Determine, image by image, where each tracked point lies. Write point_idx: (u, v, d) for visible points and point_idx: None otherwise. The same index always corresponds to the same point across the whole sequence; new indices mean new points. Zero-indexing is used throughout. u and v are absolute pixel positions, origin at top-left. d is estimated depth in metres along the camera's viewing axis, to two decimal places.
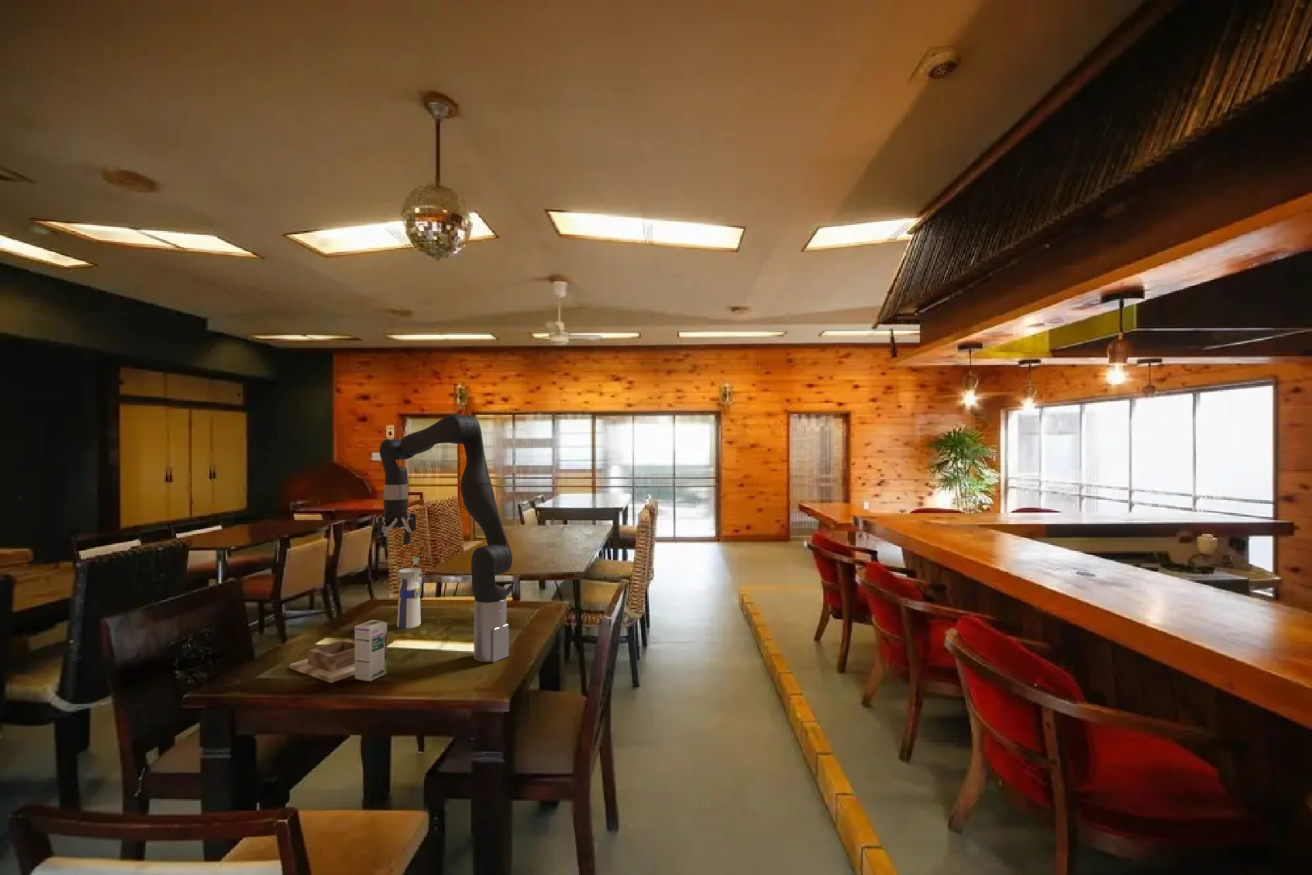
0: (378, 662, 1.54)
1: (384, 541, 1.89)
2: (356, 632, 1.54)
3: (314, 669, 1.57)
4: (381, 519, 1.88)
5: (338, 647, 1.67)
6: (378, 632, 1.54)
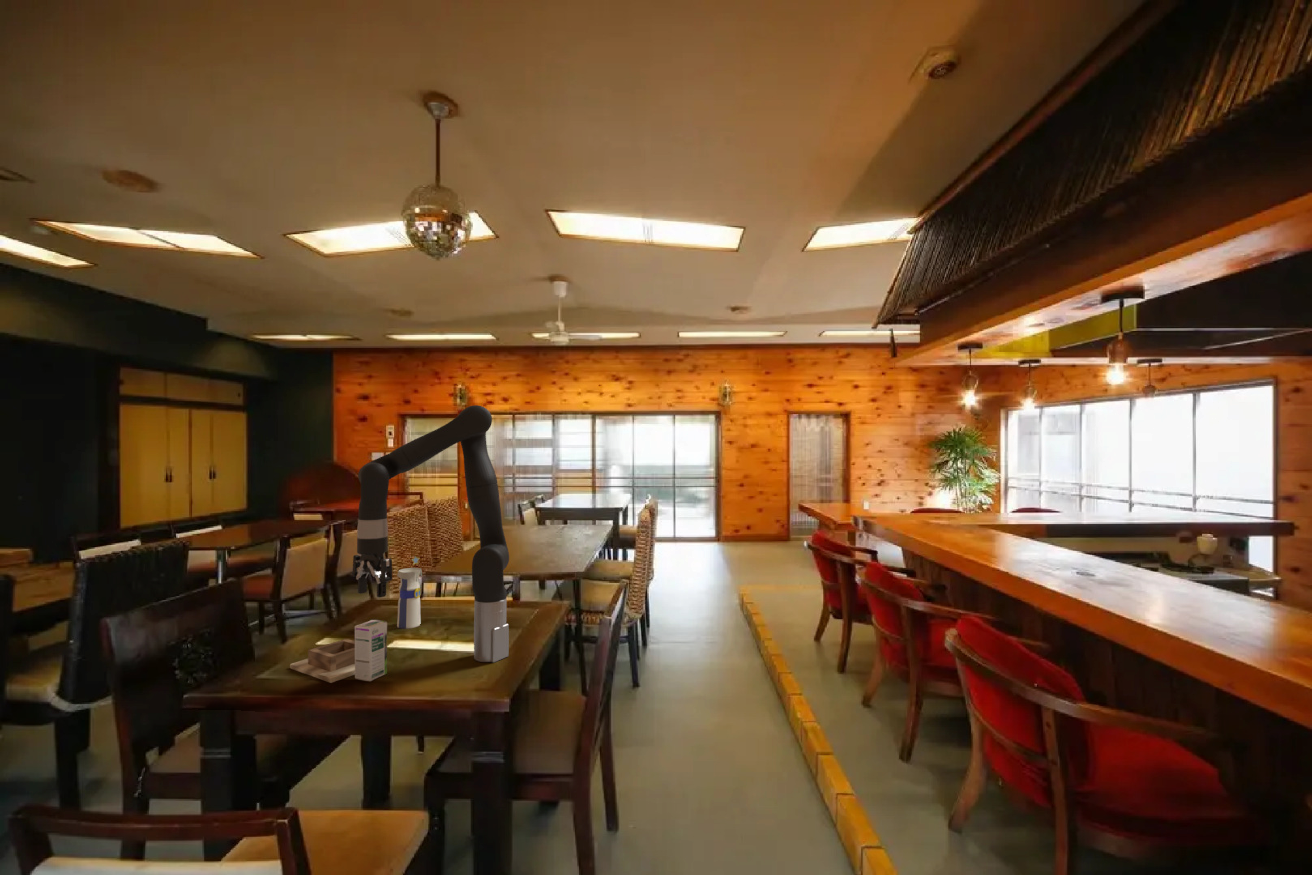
0: (378, 662, 1.54)
1: None
2: (356, 632, 1.54)
3: (314, 669, 1.57)
4: None
5: (338, 647, 1.67)
6: (378, 632, 1.54)
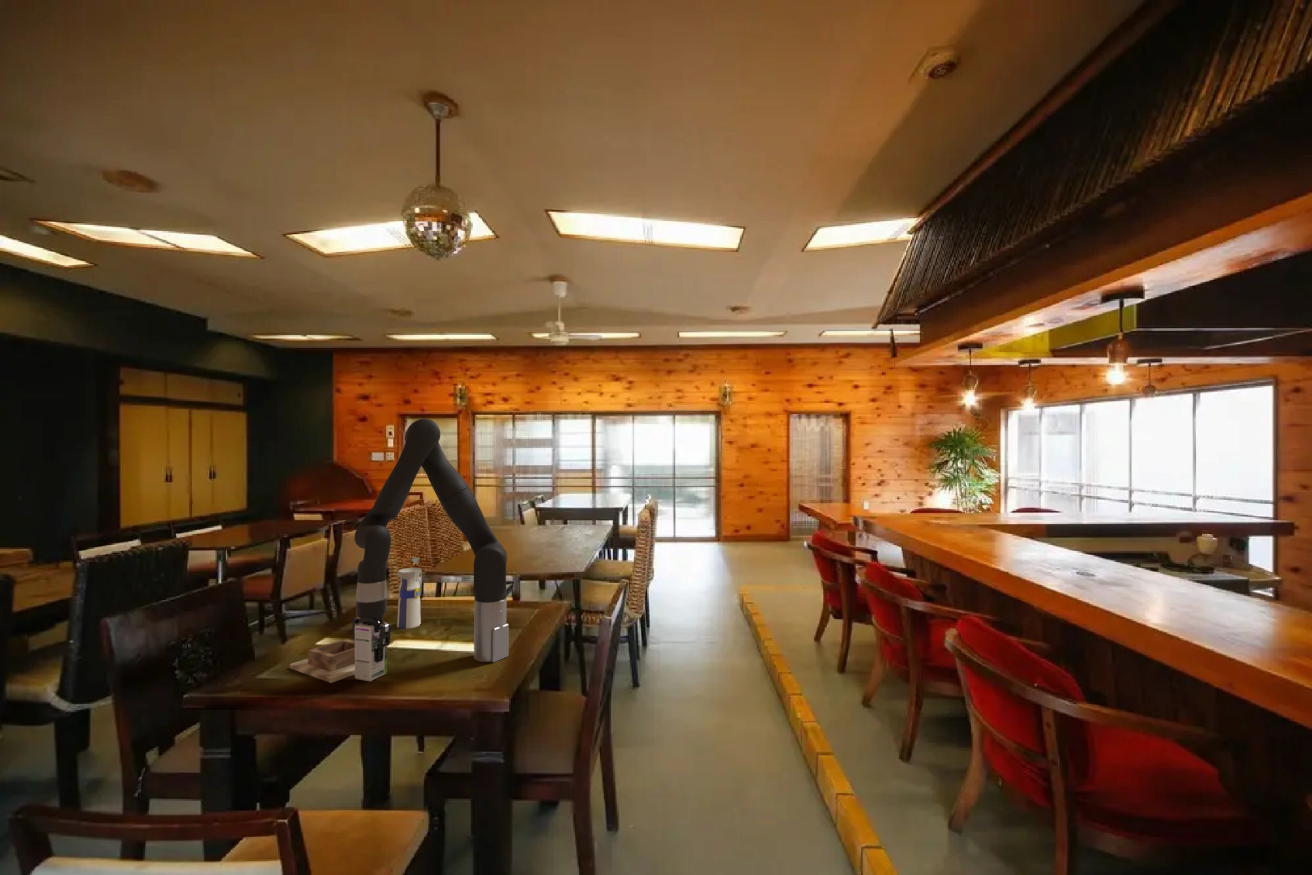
0: (378, 662, 1.54)
1: (382, 652, 1.54)
2: (356, 632, 1.54)
3: (314, 669, 1.57)
4: None
5: (338, 647, 1.67)
6: (378, 632, 1.54)
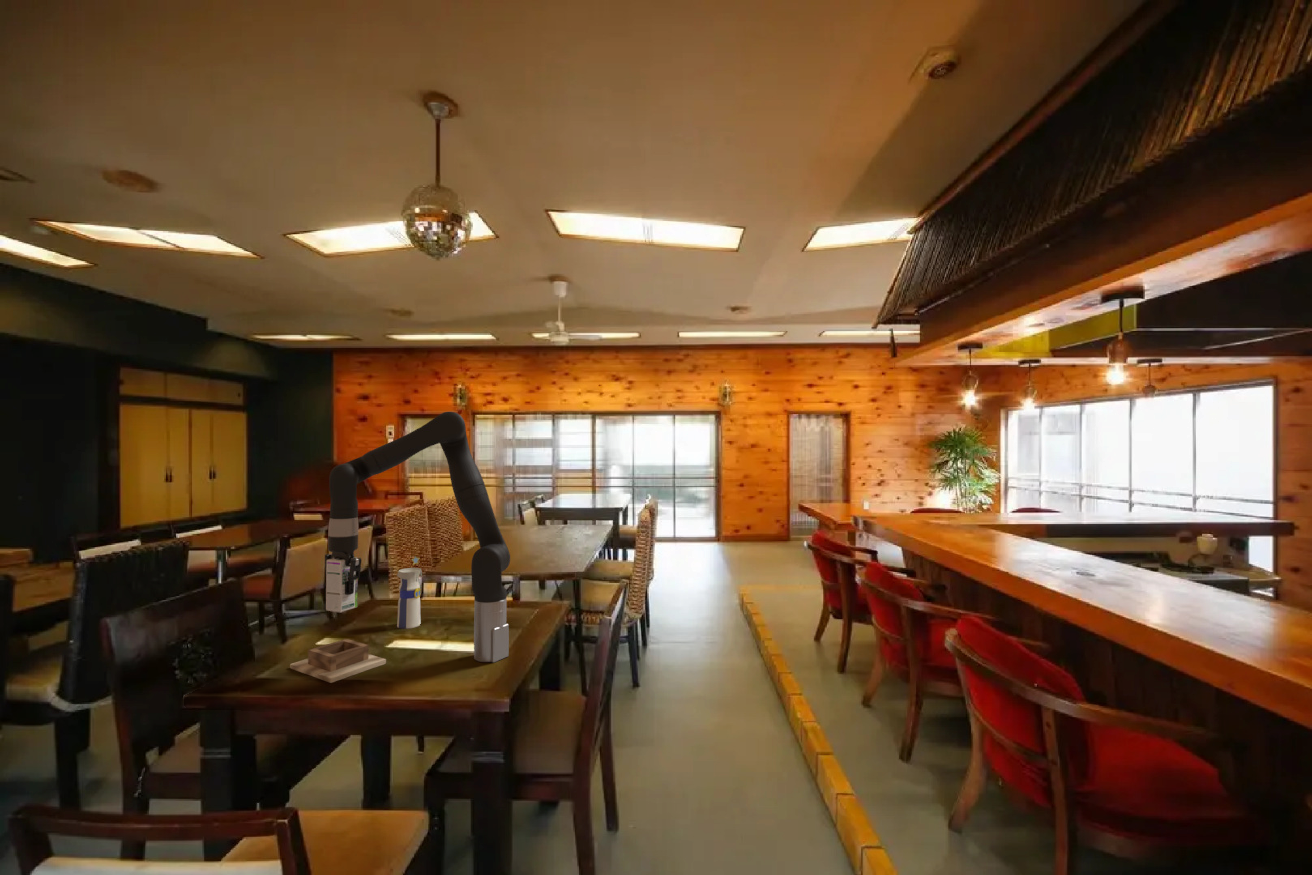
0: (349, 595, 1.61)
1: None
2: (328, 566, 1.60)
3: (314, 669, 1.57)
4: None
5: (338, 647, 1.67)
6: (349, 567, 1.61)
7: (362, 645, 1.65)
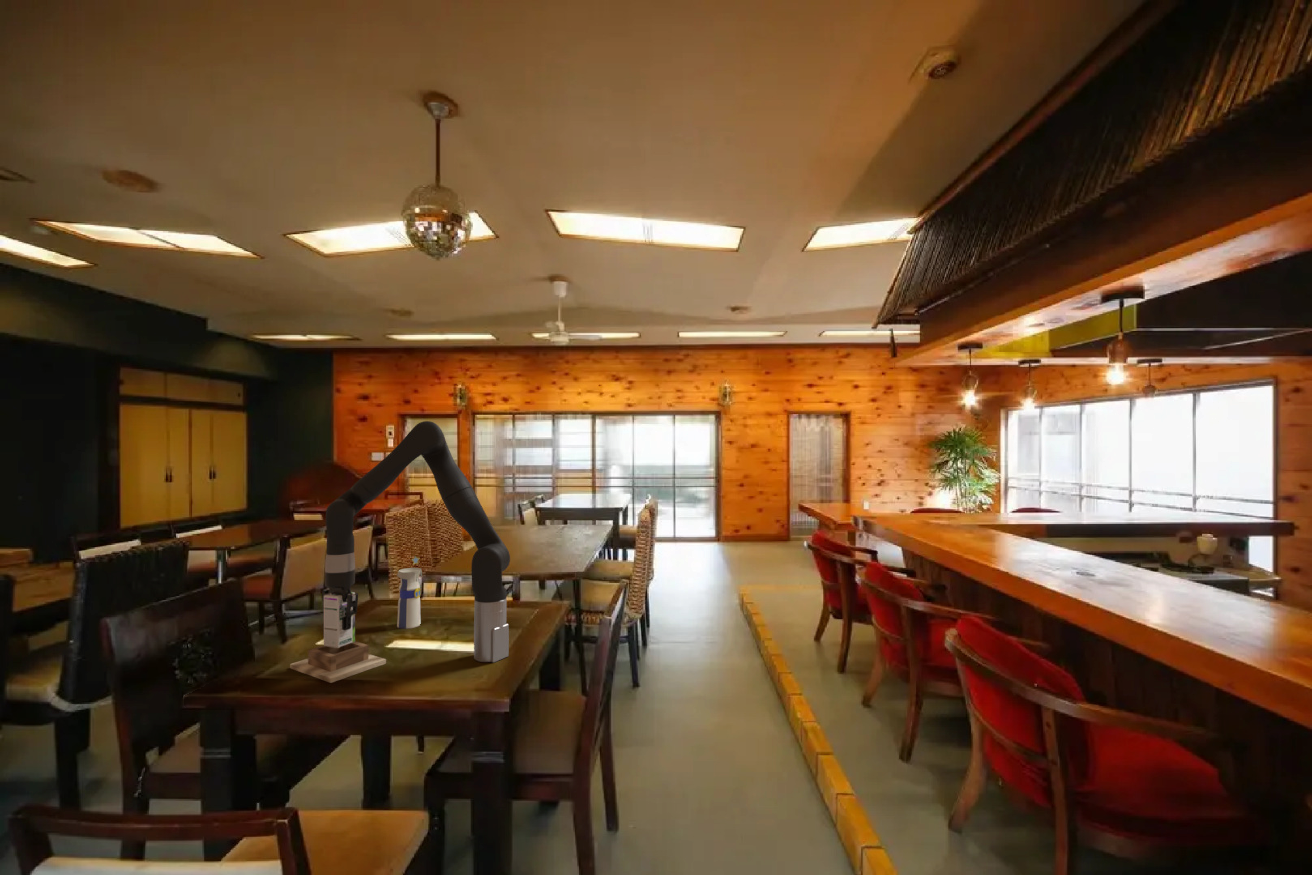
0: (346, 630, 1.62)
1: (350, 621, 1.62)
2: (325, 601, 1.61)
3: (314, 669, 1.57)
4: None
5: None
6: (346, 602, 1.62)
7: (362, 645, 1.65)
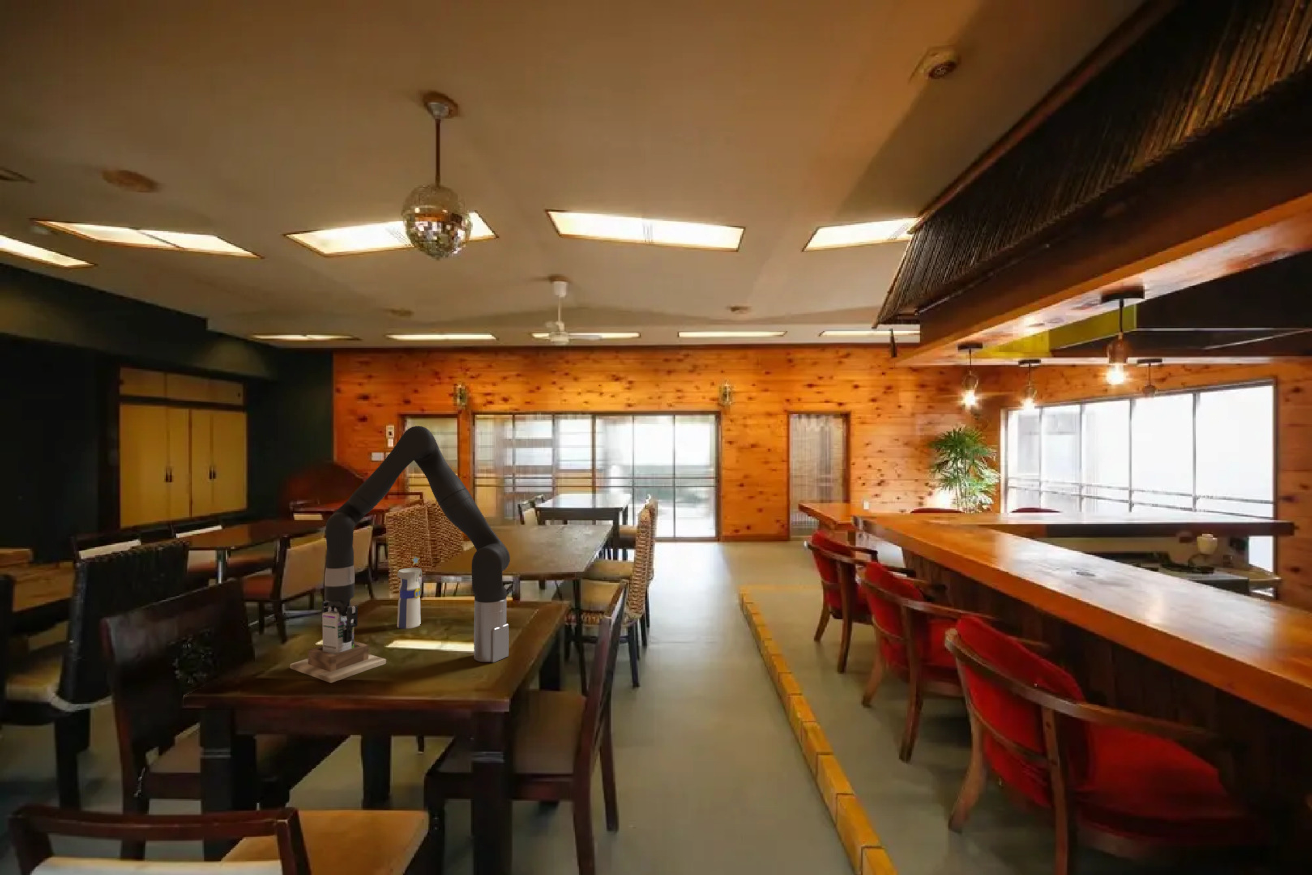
0: (345, 648, 1.62)
1: None
2: (324, 619, 1.61)
3: (314, 669, 1.57)
4: None
5: None
6: None
7: (362, 645, 1.65)
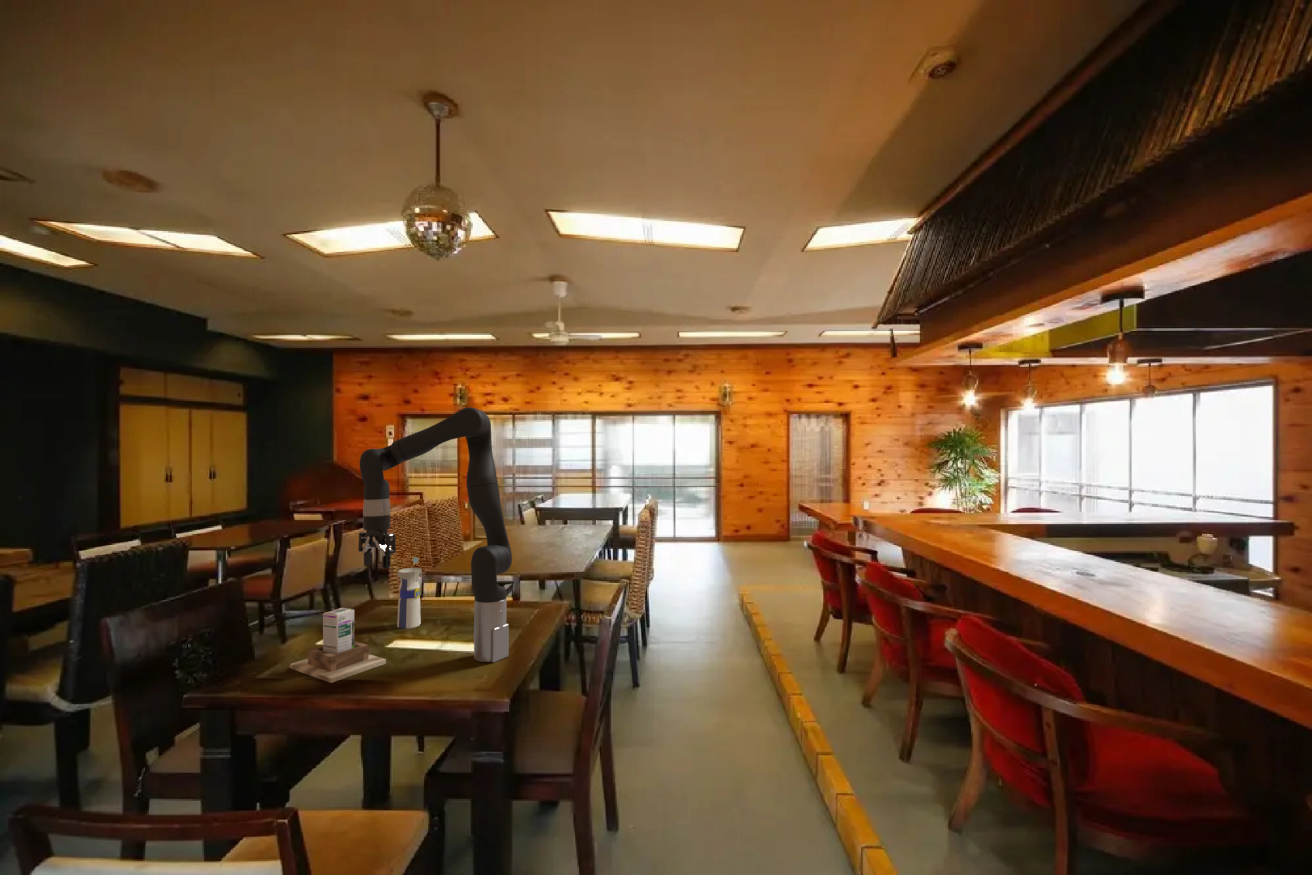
0: (345, 648, 1.62)
1: (389, 560, 1.73)
2: (324, 619, 1.61)
3: (314, 669, 1.57)
4: None
5: None
6: (345, 619, 1.62)
7: (362, 645, 1.65)
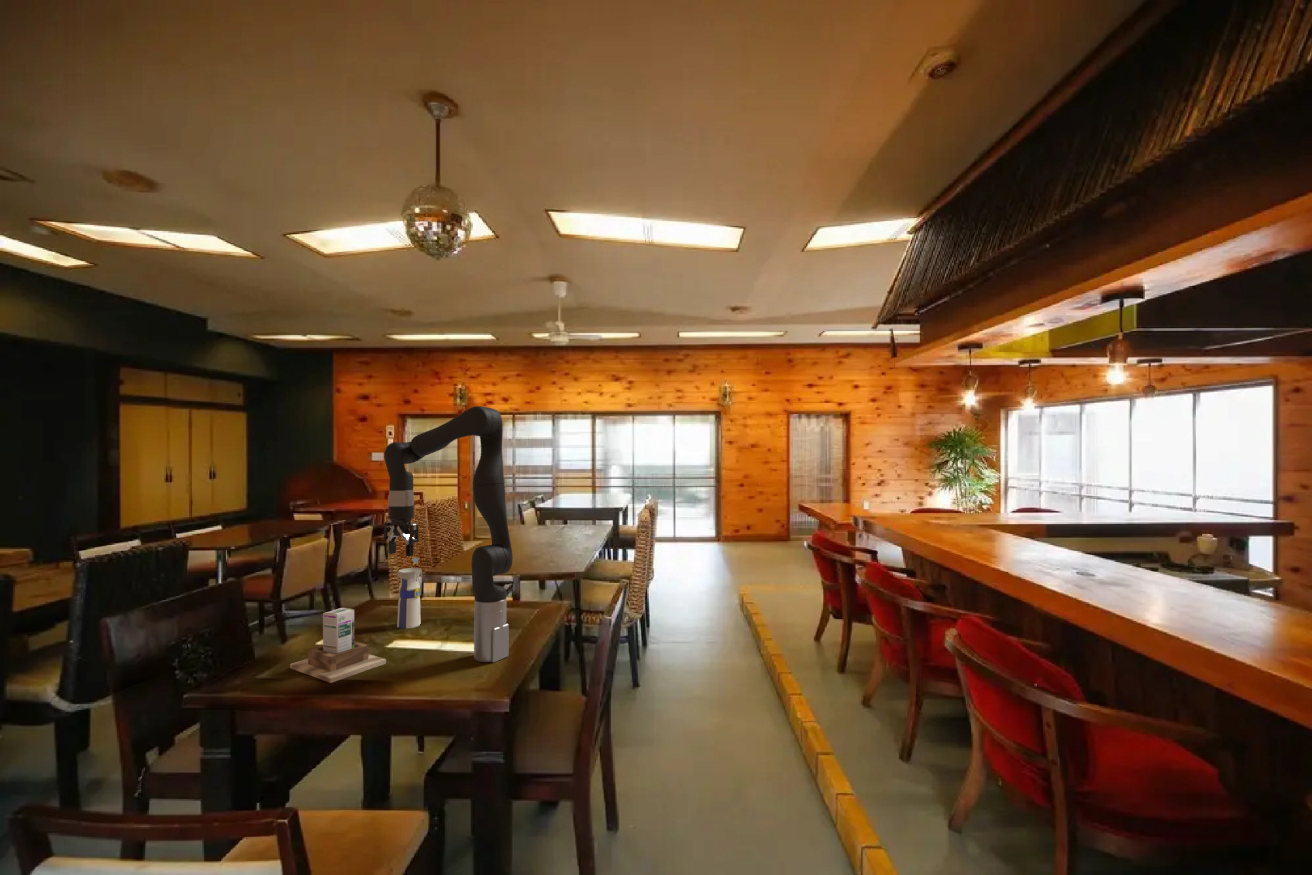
0: (345, 648, 1.62)
1: (412, 549, 1.81)
2: (324, 619, 1.61)
3: (314, 669, 1.57)
4: None
5: None
6: (345, 619, 1.62)
7: (362, 645, 1.65)
